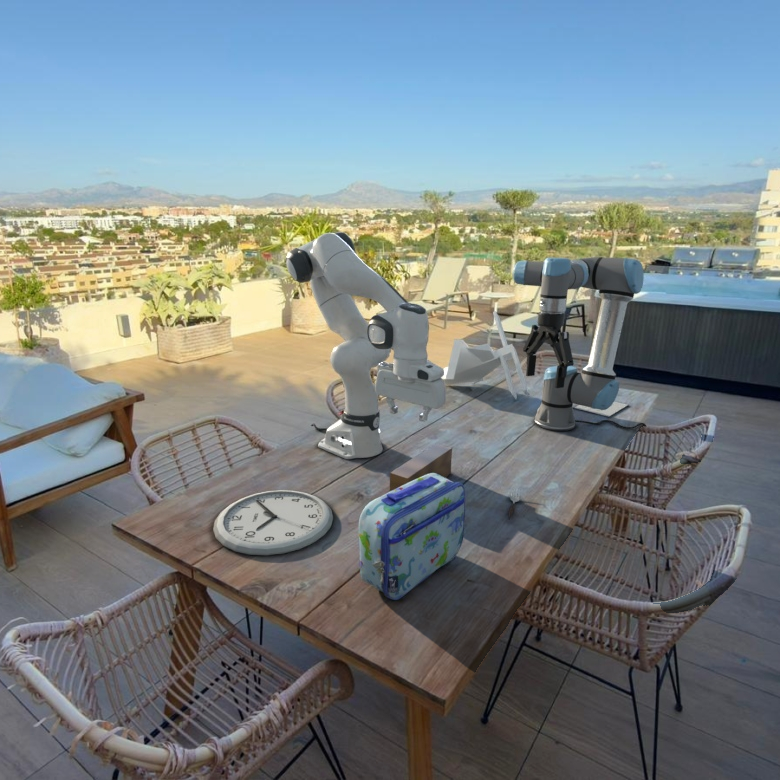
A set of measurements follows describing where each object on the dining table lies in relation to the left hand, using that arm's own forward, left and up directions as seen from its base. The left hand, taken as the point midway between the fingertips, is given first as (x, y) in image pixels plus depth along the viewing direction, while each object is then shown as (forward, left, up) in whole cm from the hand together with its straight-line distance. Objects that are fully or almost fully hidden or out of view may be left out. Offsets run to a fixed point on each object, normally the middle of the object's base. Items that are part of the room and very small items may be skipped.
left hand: (408, 416), depth 140 cm
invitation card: (+33, +115, -24) cm, 122 cm away
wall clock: (-23, -29, -24) cm, 44 cm away
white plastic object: (-19, +105, -24) cm, 110 cm away
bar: (+1, +9, -24) cm, 26 cm away
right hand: (+25, +40, +4) cm, 48 cm away
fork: (+27, +11, -24) cm, 38 cm away
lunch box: (+18, -28, -24) cm, 41 cm away
